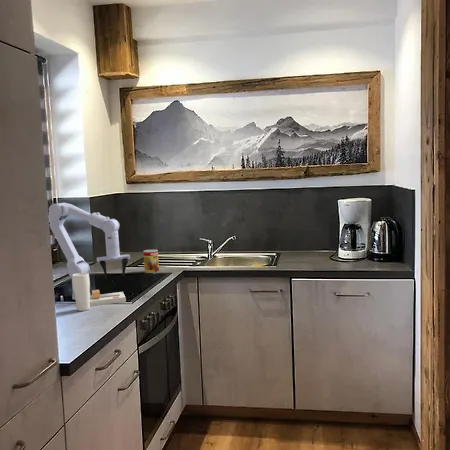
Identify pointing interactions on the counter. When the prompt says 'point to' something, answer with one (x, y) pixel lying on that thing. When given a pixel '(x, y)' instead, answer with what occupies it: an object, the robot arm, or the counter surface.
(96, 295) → the breaker toggle
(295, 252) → the counter surface
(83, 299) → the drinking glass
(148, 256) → the canned food
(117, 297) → the panel
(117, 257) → the robot arm
